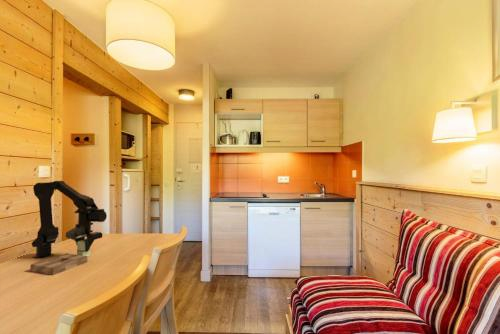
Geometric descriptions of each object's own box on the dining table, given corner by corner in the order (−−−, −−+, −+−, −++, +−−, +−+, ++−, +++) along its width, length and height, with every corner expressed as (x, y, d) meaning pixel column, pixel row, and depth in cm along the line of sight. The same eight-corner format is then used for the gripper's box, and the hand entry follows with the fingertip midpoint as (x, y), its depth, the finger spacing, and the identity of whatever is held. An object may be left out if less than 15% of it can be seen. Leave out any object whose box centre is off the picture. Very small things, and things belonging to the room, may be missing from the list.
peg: (76, 256, 124) (77, 241, 125) (84, 254, 128) (84, 239, 129) (82, 257, 123) (83, 242, 124) (89, 255, 127) (90, 240, 127)
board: (30, 271, 108) (30, 264, 108) (66, 259, 123) (66, 253, 123) (53, 275, 104) (53, 268, 104) (87, 262, 119) (87, 256, 119)
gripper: (55, 223, 121) (54, 254, 121) (84, 225, 116) (82, 258, 116) (76, 219, 132) (75, 247, 131) (103, 221, 127) (102, 251, 126)
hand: (83, 251), depth 126 cm, fingers closed on peg, 4 cm apart
